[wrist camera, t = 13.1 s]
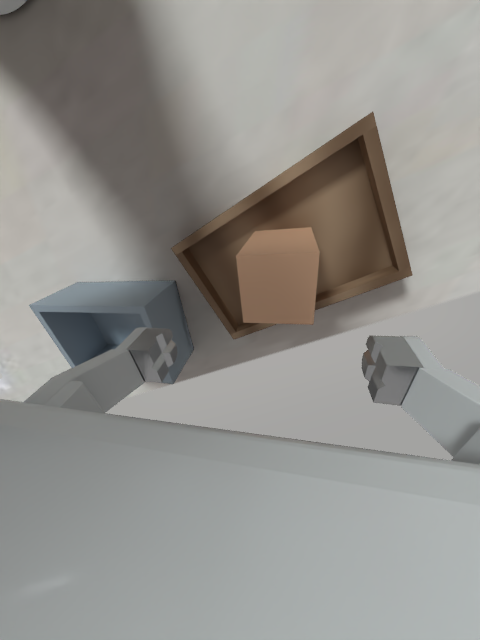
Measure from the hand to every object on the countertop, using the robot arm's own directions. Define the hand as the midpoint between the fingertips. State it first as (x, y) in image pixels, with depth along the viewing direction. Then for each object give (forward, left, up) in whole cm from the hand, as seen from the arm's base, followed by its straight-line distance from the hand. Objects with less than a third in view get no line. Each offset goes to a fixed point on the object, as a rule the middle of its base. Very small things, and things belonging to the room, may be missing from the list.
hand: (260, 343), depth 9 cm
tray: (0, 0, -15) cm, 15 cm away
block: (0, 0, -14) cm, 14 cm away
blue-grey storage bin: (+8, -20, -15) cm, 26 cm away
